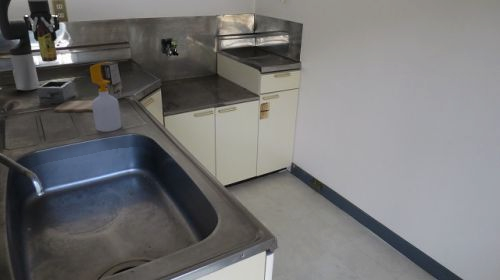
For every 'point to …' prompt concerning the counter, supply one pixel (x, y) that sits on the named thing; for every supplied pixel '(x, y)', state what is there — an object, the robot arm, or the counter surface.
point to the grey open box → (55, 91)
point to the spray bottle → (104, 104)
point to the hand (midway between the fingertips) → (46, 40)
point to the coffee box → (112, 78)
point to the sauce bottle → (45, 42)
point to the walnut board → (75, 106)
